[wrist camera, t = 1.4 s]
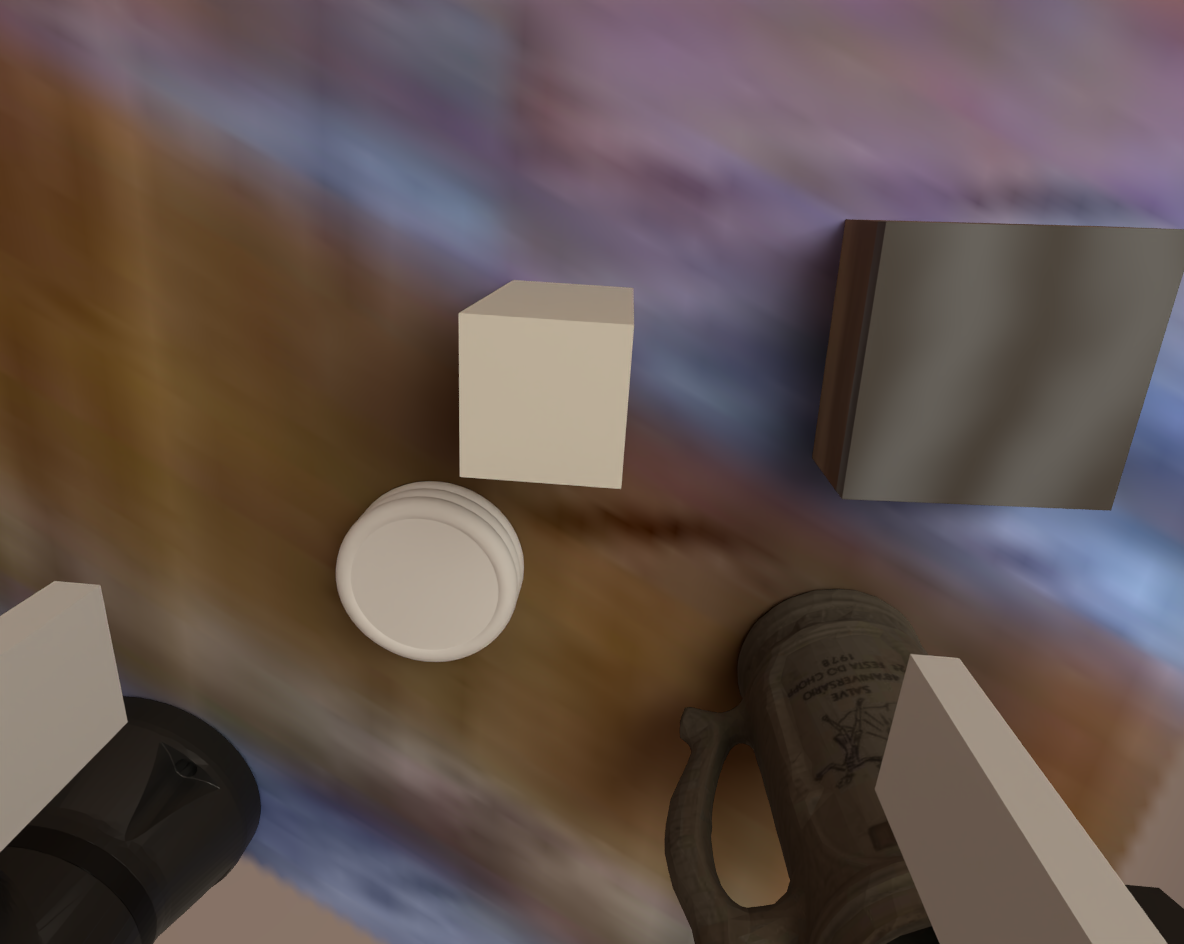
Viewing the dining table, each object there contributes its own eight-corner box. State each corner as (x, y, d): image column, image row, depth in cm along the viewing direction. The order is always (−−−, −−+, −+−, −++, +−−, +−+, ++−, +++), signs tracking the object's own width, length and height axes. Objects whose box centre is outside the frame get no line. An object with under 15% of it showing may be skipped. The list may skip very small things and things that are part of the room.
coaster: (405, 444, 39) (384, 466, 36) (558, 538, 41) (551, 567, 37) (327, 576, 42) (301, 607, 39) (471, 659, 44) (458, 695, 41)
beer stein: (914, 561, 40) (1117, 883, 21) (948, 712, 43) (1149, 1106, 24) (651, 622, 43) (627, 945, 25) (701, 758, 46) (713, 1133, 28)
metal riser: (810, 456, 38) (841, 499, 33) (844, 219, 34) (886, 221, 28) (1039, 465, 38) (1110, 510, 32) (1101, 226, 34) (1196, 229, 28)
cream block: (511, 396, 38) (459, 476, 26) (513, 280, 36) (458, 313, 24) (624, 404, 37) (621, 488, 26) (633, 288, 35) (634, 324, 24)
